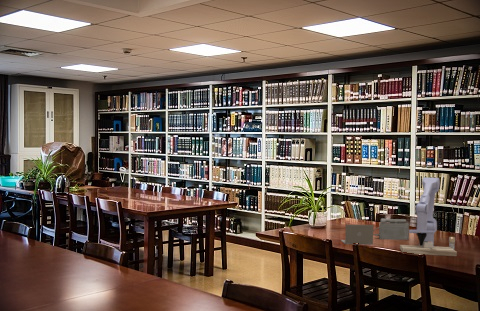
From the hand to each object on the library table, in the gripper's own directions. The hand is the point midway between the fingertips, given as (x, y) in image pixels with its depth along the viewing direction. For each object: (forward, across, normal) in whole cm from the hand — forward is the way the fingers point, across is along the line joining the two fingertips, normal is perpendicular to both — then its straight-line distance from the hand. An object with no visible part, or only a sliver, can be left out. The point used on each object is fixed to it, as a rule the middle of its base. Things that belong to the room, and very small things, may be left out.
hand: (421, 245), depth 311 cm
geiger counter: (+4, -13, +35) cm, 37 cm away
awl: (+3, +20, +6) cm, 21 cm away
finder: (+1, +4, 0) cm, 4 cm away
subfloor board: (+3, +3, -4) cm, 6 cm away
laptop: (+4, -37, +18) cm, 41 cm away
